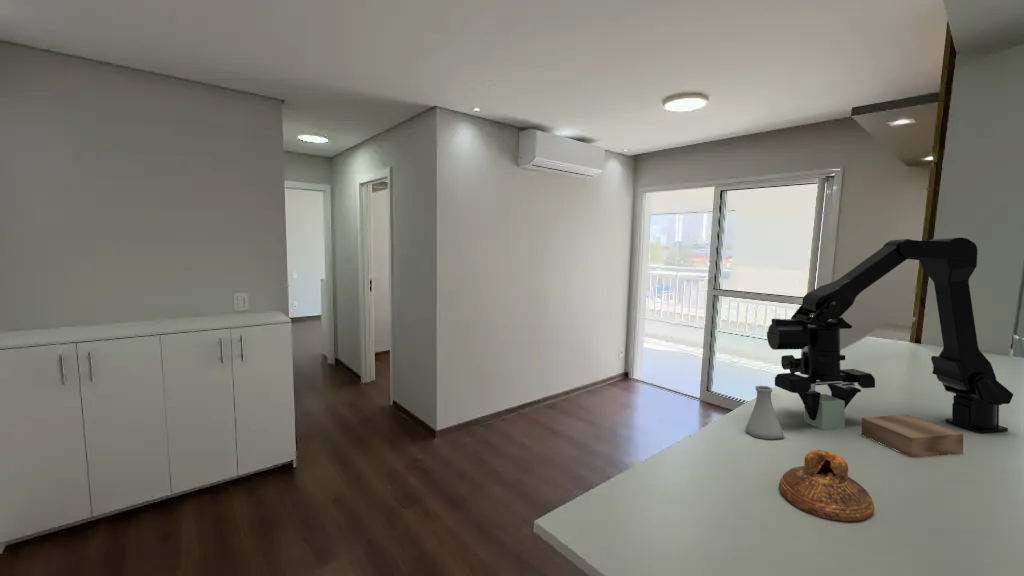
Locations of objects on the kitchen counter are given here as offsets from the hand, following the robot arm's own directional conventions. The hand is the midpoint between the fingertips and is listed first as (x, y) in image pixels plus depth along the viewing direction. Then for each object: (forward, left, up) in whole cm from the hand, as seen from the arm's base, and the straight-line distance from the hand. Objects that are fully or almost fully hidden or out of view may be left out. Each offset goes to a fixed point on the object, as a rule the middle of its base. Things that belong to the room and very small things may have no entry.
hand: (824, 418), depth 90 cm
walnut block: (-8, +11, -2) cm, 14 cm away
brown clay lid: (+22, +26, -2) cm, 34 cm away
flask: (+15, +2, -2) cm, 15 cm away
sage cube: (0, 0, -1) cm, 1 cm away
